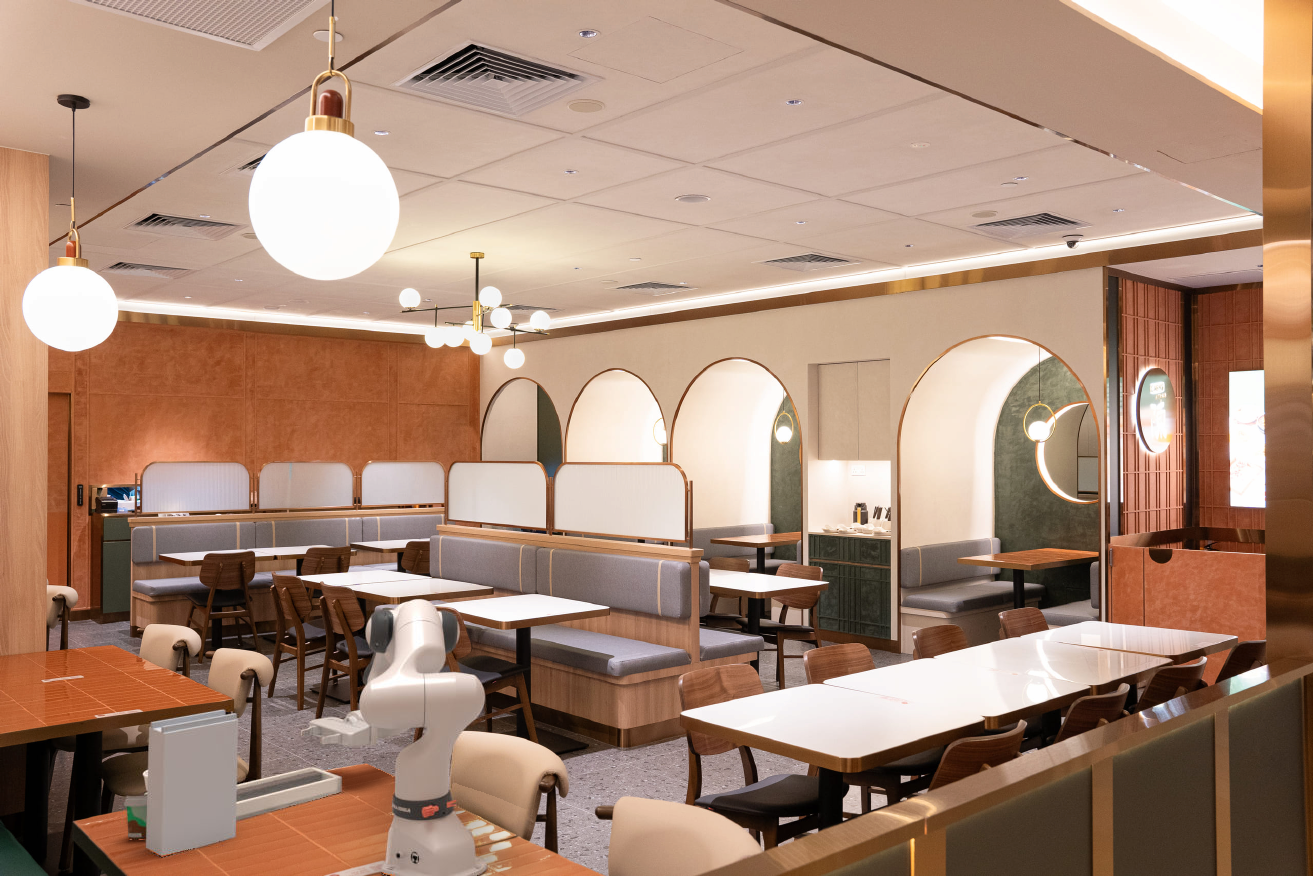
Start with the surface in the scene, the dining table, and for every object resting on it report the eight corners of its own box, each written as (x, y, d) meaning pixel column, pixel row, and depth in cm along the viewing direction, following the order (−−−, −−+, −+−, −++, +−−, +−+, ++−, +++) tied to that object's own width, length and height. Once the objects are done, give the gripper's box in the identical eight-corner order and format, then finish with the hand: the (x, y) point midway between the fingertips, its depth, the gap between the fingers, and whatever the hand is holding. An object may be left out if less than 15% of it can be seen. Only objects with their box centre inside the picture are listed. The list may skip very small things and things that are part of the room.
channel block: (235, 837, 218) (238, 714, 219) (161, 857, 206) (164, 728, 207) (219, 828, 223) (221, 709, 224) (145, 848, 211) (149, 721, 212)
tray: (341, 793, 249) (341, 777, 249) (221, 825, 225) (221, 807, 226) (312, 782, 258) (313, 766, 258) (194, 811, 234) (195, 794, 235)
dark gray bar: (230, 795, 232) (230, 810, 232) (322, 773, 251) (321, 787, 250) (224, 792, 235) (223, 807, 235) (315, 770, 253) (314, 784, 253)
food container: (144, 846, 212) (145, 799, 213) (122, 842, 214) (124, 796, 215) (188, 827, 224) (189, 783, 224) (167, 824, 226) (168, 780, 226)
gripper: (337, 709, 268) (291, 718, 258) (380, 721, 255) (333, 732, 244) (337, 732, 268) (290, 742, 257) (380, 746, 255) (332, 757, 244)
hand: (311, 737), depth 251 cm, fingers open, 8 cm apart
